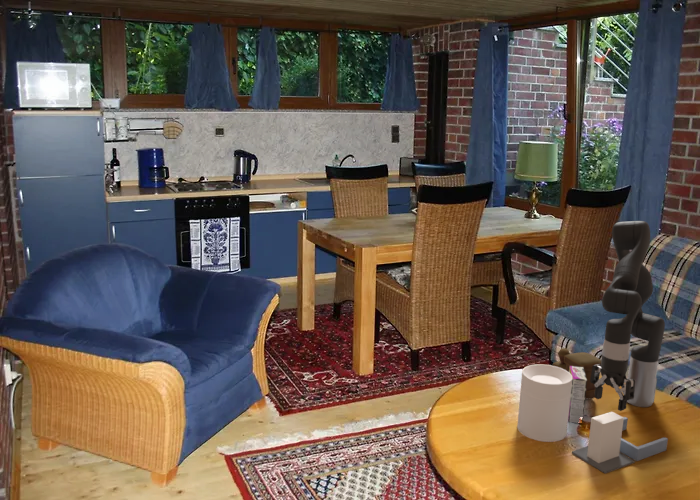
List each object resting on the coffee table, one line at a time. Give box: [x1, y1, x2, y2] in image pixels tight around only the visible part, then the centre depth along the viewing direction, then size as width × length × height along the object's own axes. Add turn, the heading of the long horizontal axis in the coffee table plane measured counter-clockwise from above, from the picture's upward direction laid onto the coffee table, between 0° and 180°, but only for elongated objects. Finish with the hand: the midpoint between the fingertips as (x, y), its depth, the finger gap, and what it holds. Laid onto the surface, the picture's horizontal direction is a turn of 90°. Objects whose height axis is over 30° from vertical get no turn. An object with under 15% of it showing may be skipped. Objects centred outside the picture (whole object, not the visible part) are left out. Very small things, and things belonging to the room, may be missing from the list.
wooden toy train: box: [552, 347, 601, 401], centre depth 254 cm, size 20×11×17 cm, turn 22°
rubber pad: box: [571, 445, 636, 474], centre depth 213 cm, size 13×13×1 cm
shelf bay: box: [620, 416, 669, 462], centre depth 221 cm, size 14×16×4 cm
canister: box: [517, 363, 572, 443], centre depth 227 cm, size 16×16×20 cm
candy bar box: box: [568, 366, 587, 424], centre depth 237 cm, size 11×5×16 cm, turn 168°
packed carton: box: [587, 411, 624, 463], centre depth 211 cm, size 4×9×13 cm, turn 119°
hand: (609, 404), depth 208 cm, fingers open, 8 cm apart
